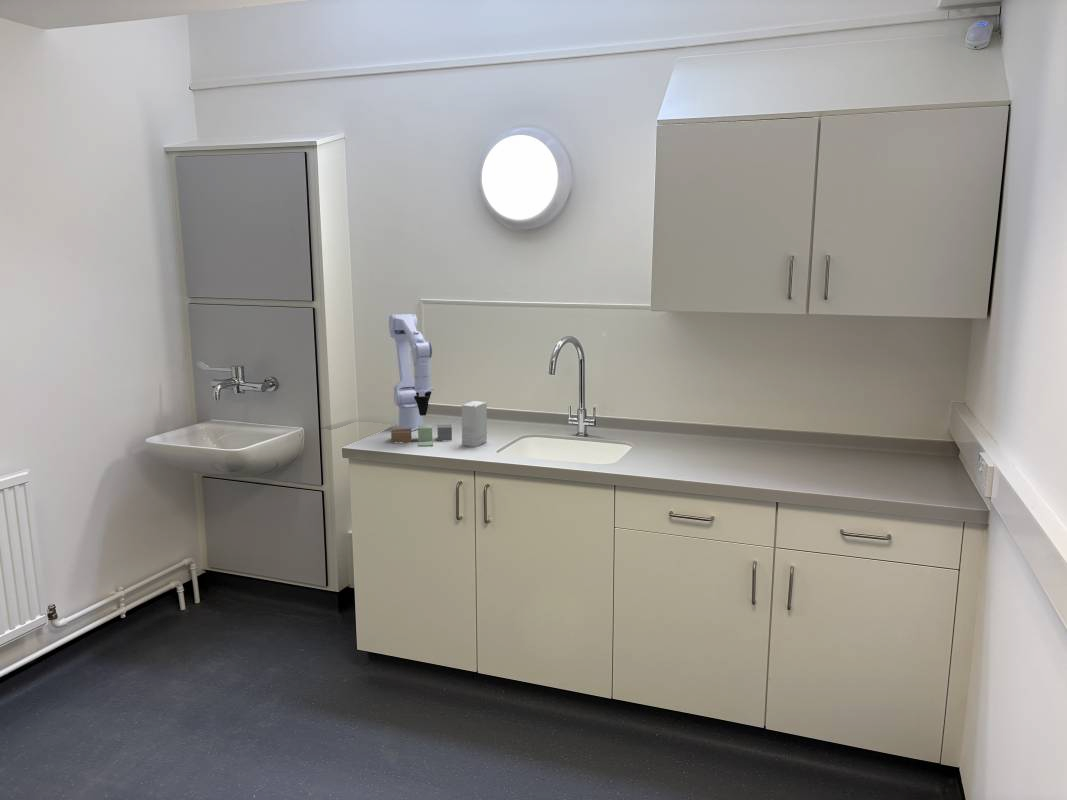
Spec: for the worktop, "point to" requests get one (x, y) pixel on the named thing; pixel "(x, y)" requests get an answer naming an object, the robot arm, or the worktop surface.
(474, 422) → the skincare box
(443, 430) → the charcoal cube
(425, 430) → the sage cube
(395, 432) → the walnut base
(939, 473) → the worktop surface
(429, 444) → the card
